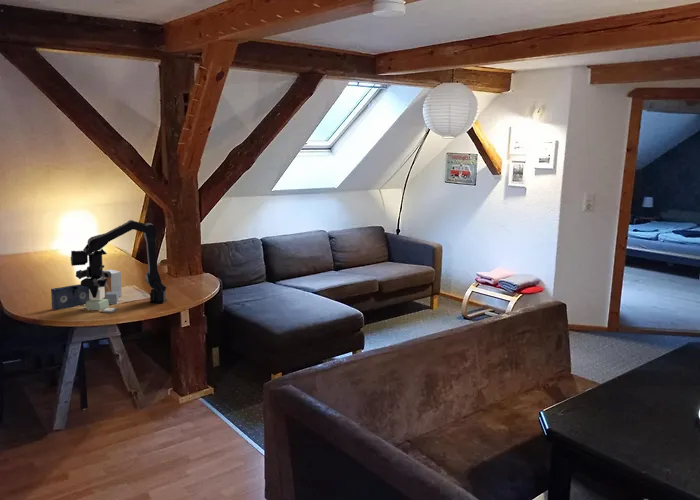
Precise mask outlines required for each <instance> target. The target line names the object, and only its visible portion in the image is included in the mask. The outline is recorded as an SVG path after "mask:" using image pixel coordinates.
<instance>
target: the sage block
mask: <svg viewBox="0 0 700 500" xmlns="http://www.w3.org/2000/svg"><path fill="white" fill-rule="evenodd" d="M109 305H110V304H109V302H108V299H106V298H102V299H101V300H89V301H87V302H86V304H85V310H86V309H91V310H90V311H93V310H99V311H98V312H100V310H101V311H102V309H105V308H107V307H108V308H110V307H109Z"/></svg>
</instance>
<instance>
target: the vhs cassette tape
mask: <svg viewBox="0 0 700 500" xmlns="http://www.w3.org/2000/svg"><path fill="white" fill-rule="evenodd" d="M50 294H51V296H50V298H51V309H52V310H54V311H58V310H64V309H68V308H69V309H70V308H74V306H75V307H79V306H78V305H80V306H83V305H82V304H85V305H86V302H87V301H89V300H92V299H89V287H87V286H81V283H80V284H73V285H67V286H62V287H54V288H51V289H50Z"/></svg>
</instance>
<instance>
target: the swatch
mask: <svg viewBox="0 0 700 500" xmlns="http://www.w3.org/2000/svg"><path fill="white" fill-rule="evenodd" d="M118 310H119V308H117V307H108V308H105V309H103V310H101V311H99V312H103V314H105V313H106V314H115V312H117V311H118Z"/></svg>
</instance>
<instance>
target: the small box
mask: <svg viewBox="0 0 700 500" xmlns="http://www.w3.org/2000/svg"><path fill="white" fill-rule="evenodd" d="M104 271H109V272H110V273H111V277H110V278H107V277H105V279H108V281H107V283H106V285H105V294H106V293H107V292H117V291H118V298H120V297H122V296H123V295H122V293H123V292H122V272H121V271H118V270H116V269H106V270H104Z"/></svg>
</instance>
